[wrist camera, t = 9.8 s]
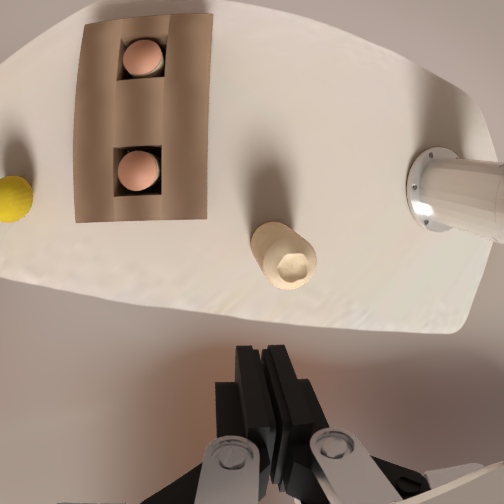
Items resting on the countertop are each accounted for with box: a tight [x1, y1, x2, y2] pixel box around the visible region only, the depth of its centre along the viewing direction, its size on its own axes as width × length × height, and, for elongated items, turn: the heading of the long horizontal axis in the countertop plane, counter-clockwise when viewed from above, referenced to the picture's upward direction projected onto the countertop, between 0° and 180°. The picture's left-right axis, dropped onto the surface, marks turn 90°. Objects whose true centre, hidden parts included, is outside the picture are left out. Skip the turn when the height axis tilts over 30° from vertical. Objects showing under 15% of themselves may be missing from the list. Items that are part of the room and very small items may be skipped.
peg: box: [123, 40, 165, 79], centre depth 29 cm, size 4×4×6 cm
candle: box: [251, 222, 317, 290], centre depth 35 cm, size 6×6×10 cm
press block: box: [73, 14, 213, 223], centre depth 31 cm, size 14×22×6 cm, turn 178°
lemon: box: [0, 175, 33, 223], centre depth 30 cm, size 6×6×8 cm
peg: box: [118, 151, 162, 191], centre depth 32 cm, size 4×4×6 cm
